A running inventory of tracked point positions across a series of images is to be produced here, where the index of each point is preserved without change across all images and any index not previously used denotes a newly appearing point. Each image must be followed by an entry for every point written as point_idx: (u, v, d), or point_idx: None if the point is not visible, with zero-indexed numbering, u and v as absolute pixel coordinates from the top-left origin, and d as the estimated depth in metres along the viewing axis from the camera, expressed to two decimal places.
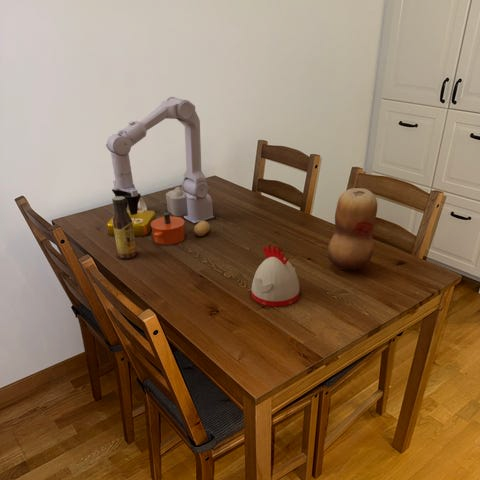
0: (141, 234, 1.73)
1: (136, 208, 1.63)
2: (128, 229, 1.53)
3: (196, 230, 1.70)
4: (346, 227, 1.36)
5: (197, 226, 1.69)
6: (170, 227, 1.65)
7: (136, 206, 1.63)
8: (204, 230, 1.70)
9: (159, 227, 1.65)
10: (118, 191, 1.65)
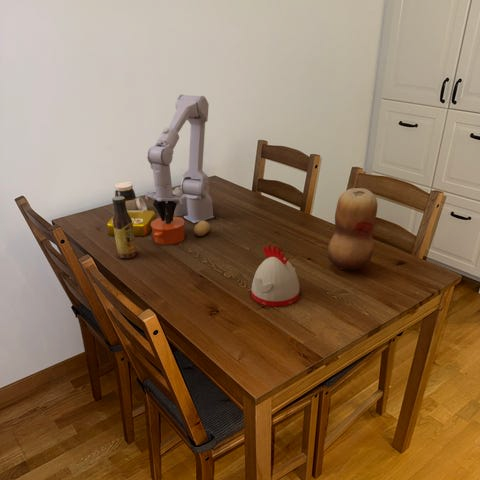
0: (141, 234, 1.73)
1: (173, 215, 1.67)
2: (128, 229, 1.53)
3: (196, 230, 1.70)
4: (346, 227, 1.36)
5: (197, 226, 1.69)
6: (170, 227, 1.65)
7: (173, 213, 1.66)
8: (204, 230, 1.70)
9: (159, 227, 1.65)
10: (160, 204, 1.64)
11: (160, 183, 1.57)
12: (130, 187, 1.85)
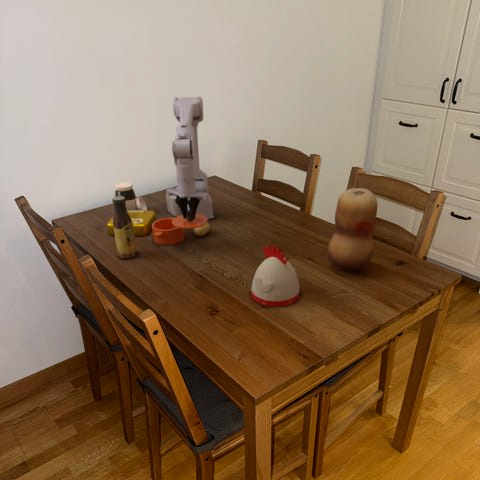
0: (141, 234, 1.73)
1: (195, 212, 1.58)
2: (128, 229, 1.53)
3: (196, 230, 1.70)
4: (346, 227, 1.36)
5: None
6: (193, 225, 1.56)
7: (195, 210, 1.58)
8: (204, 230, 1.70)
9: (181, 225, 1.56)
10: (182, 200, 1.55)
11: (187, 178, 1.49)
12: (130, 187, 1.85)
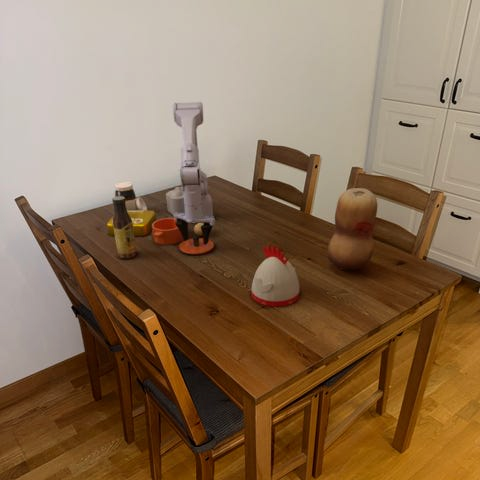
0: (141, 234, 1.73)
1: (208, 237, 1.61)
2: (128, 229, 1.53)
3: (196, 230, 1.70)
4: (346, 227, 1.36)
5: (197, 226, 1.69)
6: (200, 250, 1.60)
7: (208, 235, 1.60)
8: None
9: (188, 250, 1.60)
10: (183, 224, 1.59)
11: (195, 204, 1.52)
12: (130, 187, 1.85)
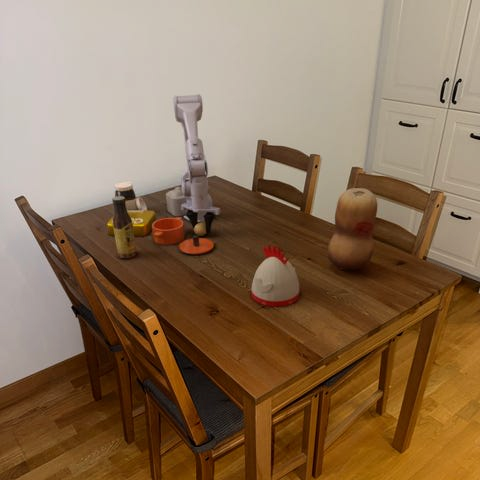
0: (141, 234, 1.73)
1: (210, 225, 1.71)
2: (128, 229, 1.53)
3: (196, 230, 1.70)
4: (346, 227, 1.36)
5: (197, 226, 1.69)
6: (200, 250, 1.60)
7: (210, 223, 1.71)
8: (204, 230, 1.70)
9: (188, 250, 1.60)
10: (193, 214, 1.69)
11: (202, 194, 1.63)
12: (130, 187, 1.85)
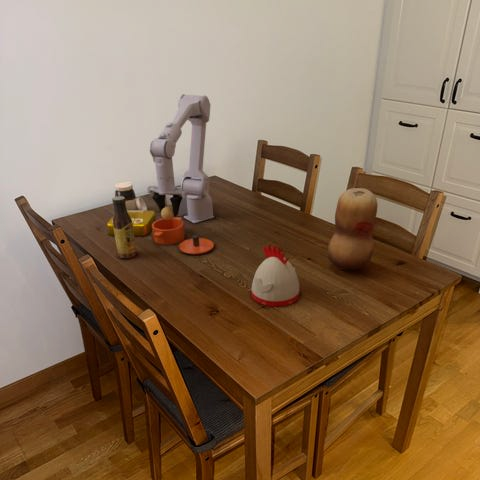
0: (141, 234, 1.73)
1: (178, 209, 1.65)
2: (128, 229, 1.53)
3: (163, 214, 1.64)
4: (346, 227, 1.36)
5: (164, 210, 1.63)
6: (200, 250, 1.60)
7: (178, 207, 1.65)
8: (171, 214, 1.64)
9: (188, 250, 1.60)
10: (159, 197, 1.63)
11: (163, 176, 1.56)
12: (130, 187, 1.85)
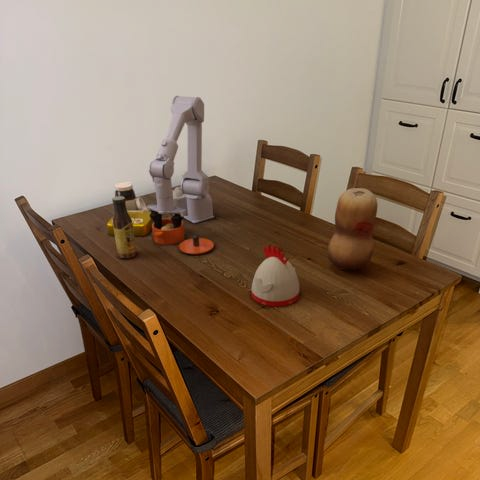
0: (141, 234, 1.73)
1: None
2: (128, 229, 1.53)
3: None
4: (346, 227, 1.36)
5: (163, 229, 1.67)
6: (200, 250, 1.60)
7: (179, 225, 1.68)
8: None
9: (188, 250, 1.60)
10: (156, 215, 1.67)
11: (162, 196, 1.60)
12: (130, 187, 1.85)
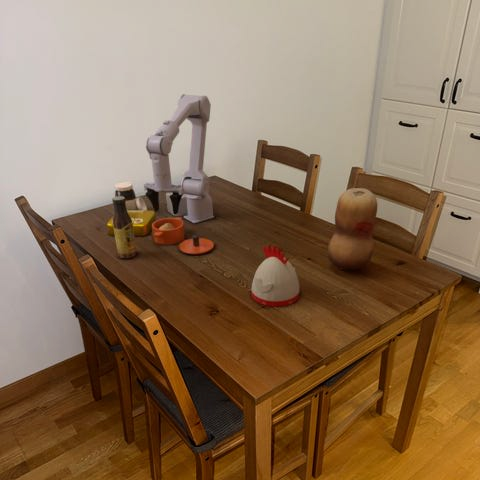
0: (141, 234, 1.73)
1: (178, 207, 1.64)
2: (128, 229, 1.53)
3: None
4: (346, 227, 1.36)
5: None
6: (200, 250, 1.60)
7: (178, 205, 1.64)
8: None
9: (188, 250, 1.60)
10: (153, 194, 1.63)
11: (159, 173, 1.56)
12: (130, 187, 1.85)
